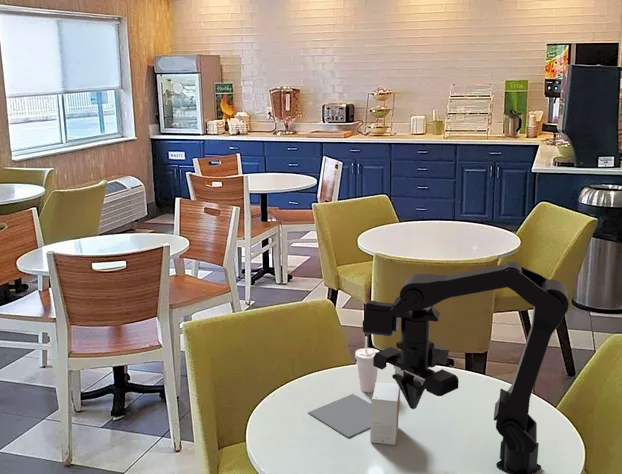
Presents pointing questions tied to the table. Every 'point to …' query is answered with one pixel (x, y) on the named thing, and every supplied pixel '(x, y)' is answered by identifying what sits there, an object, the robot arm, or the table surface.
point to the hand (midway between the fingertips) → (413, 408)
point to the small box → (385, 413)
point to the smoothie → (366, 368)
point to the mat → (346, 415)
